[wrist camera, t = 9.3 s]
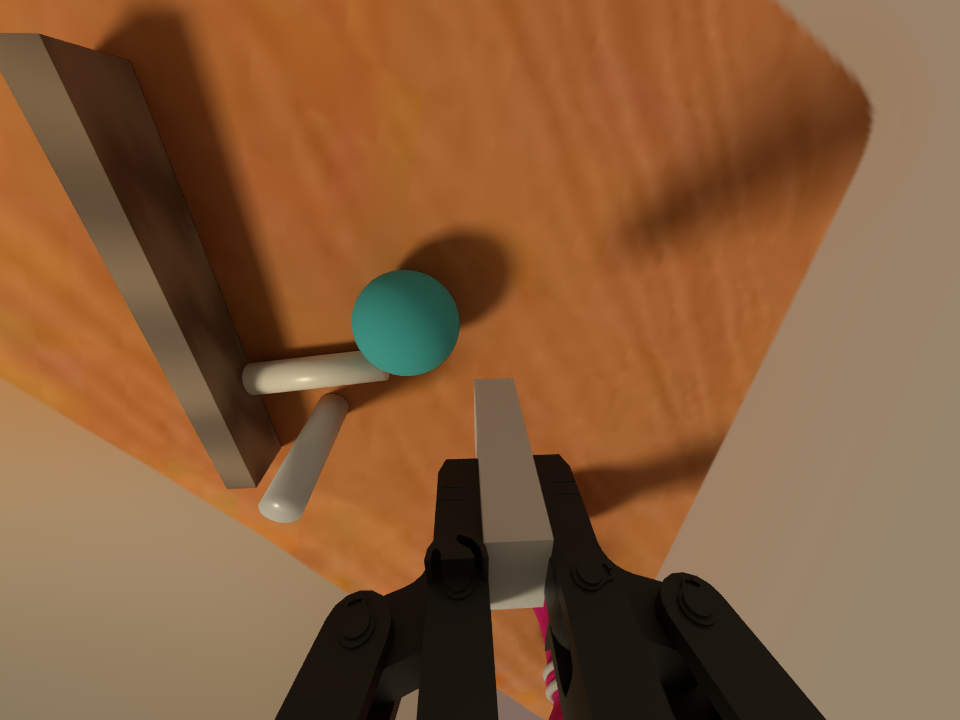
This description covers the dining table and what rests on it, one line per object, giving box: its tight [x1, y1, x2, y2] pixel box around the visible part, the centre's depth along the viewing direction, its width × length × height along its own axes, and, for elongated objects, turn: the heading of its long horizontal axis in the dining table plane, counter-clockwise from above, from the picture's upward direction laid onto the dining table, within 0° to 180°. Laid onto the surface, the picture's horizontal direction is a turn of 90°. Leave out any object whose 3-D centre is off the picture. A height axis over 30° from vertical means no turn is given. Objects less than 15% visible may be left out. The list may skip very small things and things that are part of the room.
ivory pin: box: [242, 351, 390, 395], centre depth 24 cm, size 2×2×9 cm
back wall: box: [0, 33, 281, 489], centre depth 20 cm, size 24×2×4 cm, turn 0°
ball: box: [352, 270, 460, 376], centre depth 20 cm, size 6×6×6 cm
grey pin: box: [259, 394, 349, 523], centre depth 22 cm, size 2×2×9 cm
